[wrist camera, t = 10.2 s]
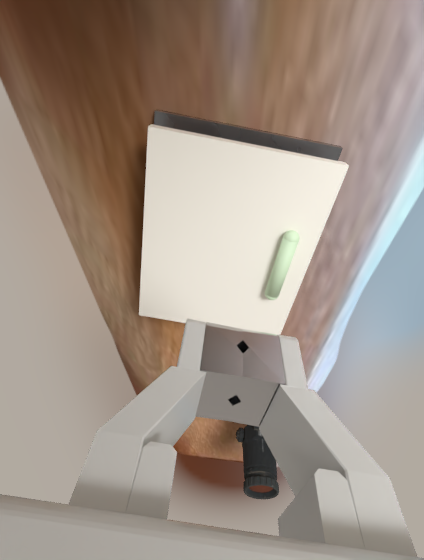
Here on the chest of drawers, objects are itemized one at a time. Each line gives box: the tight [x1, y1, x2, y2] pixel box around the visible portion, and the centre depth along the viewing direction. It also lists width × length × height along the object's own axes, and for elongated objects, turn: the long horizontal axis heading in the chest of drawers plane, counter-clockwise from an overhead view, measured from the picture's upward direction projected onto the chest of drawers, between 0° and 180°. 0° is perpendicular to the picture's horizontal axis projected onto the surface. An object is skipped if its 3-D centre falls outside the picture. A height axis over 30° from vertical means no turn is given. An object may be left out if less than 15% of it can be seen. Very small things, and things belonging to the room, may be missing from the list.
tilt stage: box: [139, 124, 349, 335], centre depth 34 cm, size 22×18×3 cm
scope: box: [236, 425, 279, 499], centre depth 54 cm, size 8×14×10 cm
